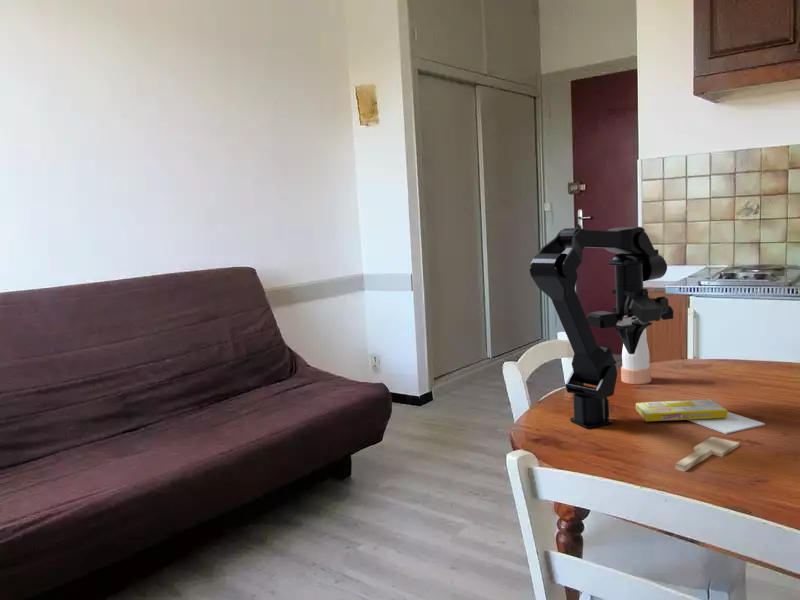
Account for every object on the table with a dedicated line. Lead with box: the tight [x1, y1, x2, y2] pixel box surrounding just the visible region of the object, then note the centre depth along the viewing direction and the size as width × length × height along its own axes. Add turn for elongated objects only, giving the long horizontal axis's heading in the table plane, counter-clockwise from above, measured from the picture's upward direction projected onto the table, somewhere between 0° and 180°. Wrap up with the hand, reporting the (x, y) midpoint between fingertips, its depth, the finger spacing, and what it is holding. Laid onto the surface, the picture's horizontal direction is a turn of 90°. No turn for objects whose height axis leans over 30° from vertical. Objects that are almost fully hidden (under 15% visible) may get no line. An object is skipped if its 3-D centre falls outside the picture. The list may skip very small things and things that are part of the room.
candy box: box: [635, 398, 728, 422], centre depth 137 cm, size 16×2×8 cm
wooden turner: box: [674, 436, 740, 472], centre depth 116 cm, size 17×5×1 cm, turn 130°
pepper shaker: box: [620, 316, 652, 385], centre depth 165 cm, size 7×7×19 cm
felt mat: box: [687, 411, 766, 435], centre depth 134 cm, size 10×16×1 cm, turn 20°
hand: (631, 353), depth 145 cm, fingers closed
